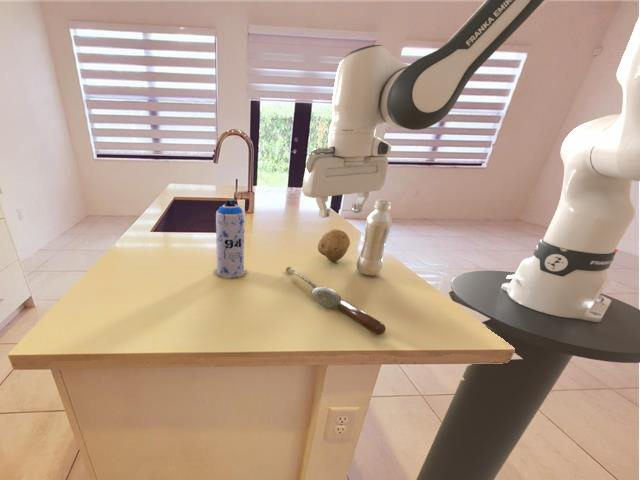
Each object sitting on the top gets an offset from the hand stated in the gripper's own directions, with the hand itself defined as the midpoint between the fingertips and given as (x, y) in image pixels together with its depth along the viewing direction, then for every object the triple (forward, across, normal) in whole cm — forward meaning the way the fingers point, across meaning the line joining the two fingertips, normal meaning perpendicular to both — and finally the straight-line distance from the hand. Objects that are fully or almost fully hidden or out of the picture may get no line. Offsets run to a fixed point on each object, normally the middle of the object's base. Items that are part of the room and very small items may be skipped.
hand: (340, 214), depth 70 cm
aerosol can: (+18, -18, +21) cm, 33 cm away
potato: (+19, +14, +16) cm, 28 cm away
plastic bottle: (+19, +17, +4) cm, 26 cm away
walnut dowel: (+19, -4, -14) cm, 24 cm away
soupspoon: (+19, -4, +3) cm, 20 cm away
